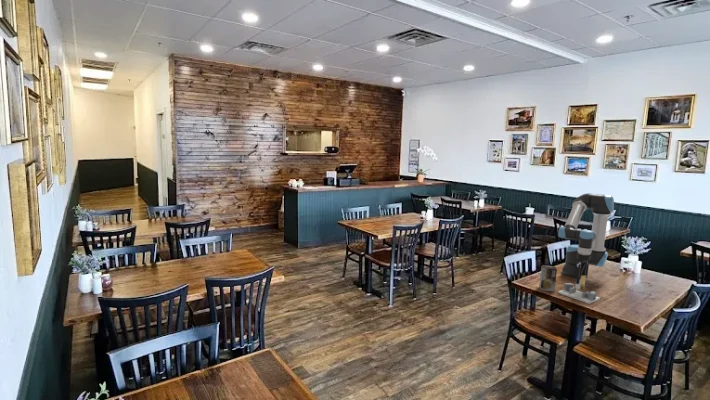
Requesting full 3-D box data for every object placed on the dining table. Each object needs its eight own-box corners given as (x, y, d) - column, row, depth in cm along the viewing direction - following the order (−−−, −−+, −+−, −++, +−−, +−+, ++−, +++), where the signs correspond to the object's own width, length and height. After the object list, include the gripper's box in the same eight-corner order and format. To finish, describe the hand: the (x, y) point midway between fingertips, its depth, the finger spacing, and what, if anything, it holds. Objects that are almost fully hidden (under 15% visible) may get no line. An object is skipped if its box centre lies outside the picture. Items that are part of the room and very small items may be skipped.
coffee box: (553, 288, 271) (555, 266, 268) (554, 291, 265) (557, 269, 262) (539, 286, 274) (541, 264, 271) (540, 289, 268) (542, 267, 265)
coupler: (581, 290, 254) (583, 277, 253) (573, 287, 258) (575, 274, 257) (585, 288, 257) (587, 275, 256) (577, 286, 261) (579, 273, 260)
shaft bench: (557, 293, 263) (558, 285, 262) (568, 289, 271) (569, 281, 270) (589, 303, 247) (590, 295, 246) (599, 299, 254) (600, 291, 254)
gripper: (583, 257, 246) (578, 292, 249) (596, 253, 256) (592, 286, 260) (571, 254, 252) (566, 288, 256) (584, 250, 262) (580, 283, 266)
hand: (579, 287), depth 258 cm, fingers closed on coupler, 5 cm apart
